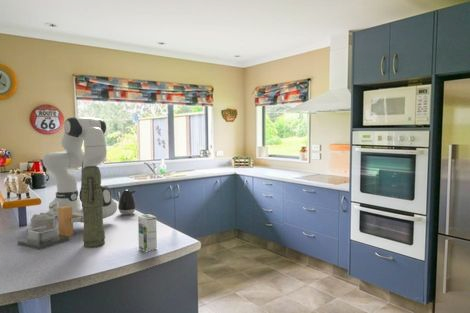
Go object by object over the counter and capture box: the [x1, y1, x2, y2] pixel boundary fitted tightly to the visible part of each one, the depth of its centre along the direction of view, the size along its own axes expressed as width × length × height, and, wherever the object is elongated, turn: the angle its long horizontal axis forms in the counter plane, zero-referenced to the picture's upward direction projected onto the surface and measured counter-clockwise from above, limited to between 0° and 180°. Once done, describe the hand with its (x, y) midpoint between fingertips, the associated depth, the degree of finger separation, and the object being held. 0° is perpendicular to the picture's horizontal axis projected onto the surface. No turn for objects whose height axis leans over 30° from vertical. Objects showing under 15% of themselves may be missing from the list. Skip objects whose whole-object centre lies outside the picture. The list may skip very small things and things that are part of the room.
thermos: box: [80, 165, 106, 249], centre depth 143 cm, size 9×12×35 cm
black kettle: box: [117, 189, 137, 216], centre depth 200 cm, size 10×10×15 cm
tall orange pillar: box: [57, 206, 74, 237], centre depth 158 cm, size 4×4×14 cm
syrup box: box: [137, 213, 158, 253], centre depth 137 cm, size 6×6×14 cm
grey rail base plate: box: [17, 226, 70, 250], centre depth 148 cm, size 14×16×6 cm
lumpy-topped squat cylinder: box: [30, 212, 57, 230], centre depth 168 cm, size 10×13×9 cm
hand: (64, 220), depth 157 cm, fingers open, 8 cm apart
